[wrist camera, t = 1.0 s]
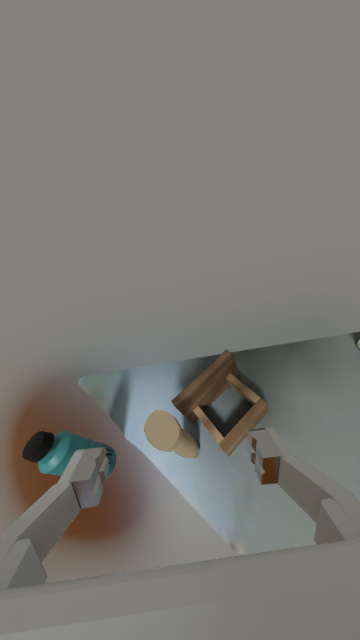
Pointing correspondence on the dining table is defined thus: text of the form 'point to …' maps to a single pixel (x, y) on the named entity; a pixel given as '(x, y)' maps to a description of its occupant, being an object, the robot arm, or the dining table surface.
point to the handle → (169, 435)
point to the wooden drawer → (209, 389)
